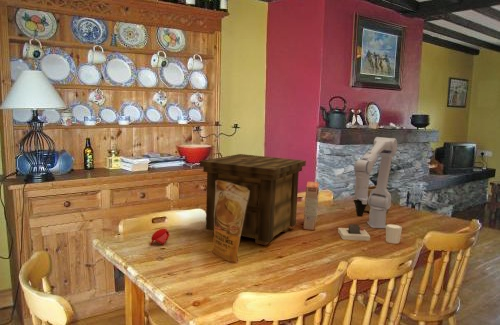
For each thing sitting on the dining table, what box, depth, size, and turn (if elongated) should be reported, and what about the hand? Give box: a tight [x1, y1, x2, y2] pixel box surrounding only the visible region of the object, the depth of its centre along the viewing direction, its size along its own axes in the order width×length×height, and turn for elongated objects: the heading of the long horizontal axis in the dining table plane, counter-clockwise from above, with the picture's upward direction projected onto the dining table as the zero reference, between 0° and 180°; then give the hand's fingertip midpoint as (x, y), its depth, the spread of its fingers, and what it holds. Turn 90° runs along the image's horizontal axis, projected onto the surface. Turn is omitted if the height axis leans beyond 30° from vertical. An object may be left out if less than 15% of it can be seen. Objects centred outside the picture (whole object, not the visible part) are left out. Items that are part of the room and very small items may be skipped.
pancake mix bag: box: [212, 180, 250, 264], centre depth 150 cm, size 7×19×28 cm, turn 38°
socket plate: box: [337, 227, 371, 242], centre depth 182 cm, size 11×12×3 cm
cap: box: [150, 228, 170, 246], centre depth 163 cm, size 8×6×6 cm
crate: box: [199, 153, 307, 246], centre depth 181 cm, size 35×35×33 cm
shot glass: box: [385, 223, 403, 245], centre depth 176 cm, size 7×7×7 cm
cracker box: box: [302, 181, 320, 231], centre depth 194 cm, size 14×6×21 cm, turn 168°
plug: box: [348, 223, 361, 234], centre depth 182 cm, size 4×4×5 cm
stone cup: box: [364, 185, 390, 214], centre depth 226 cm, size 15×12×15 cm
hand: (359, 216), depth 181 cm, fingers closed
